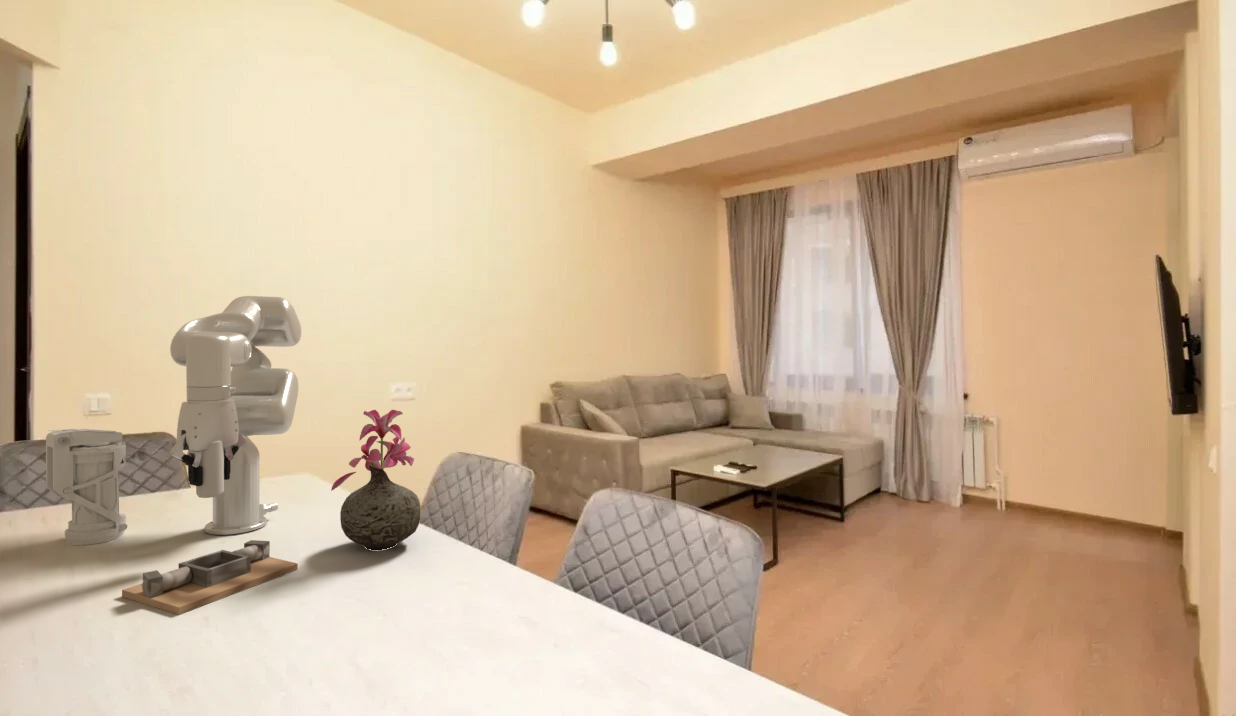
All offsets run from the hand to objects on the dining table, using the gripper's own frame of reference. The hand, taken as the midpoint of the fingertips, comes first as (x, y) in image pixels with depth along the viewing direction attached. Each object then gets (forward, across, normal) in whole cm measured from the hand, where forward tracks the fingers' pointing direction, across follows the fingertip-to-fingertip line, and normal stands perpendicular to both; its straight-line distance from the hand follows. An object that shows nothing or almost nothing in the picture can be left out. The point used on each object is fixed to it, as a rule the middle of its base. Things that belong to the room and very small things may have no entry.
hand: (209, 481), depth 124 cm
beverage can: (+3, 0, 0) cm, 3 cm away
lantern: (+17, +5, -34) cm, 38 cm away
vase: (+16, -20, +26) cm, 36 cm away
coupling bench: (+15, +8, +14) cm, 22 cm away
